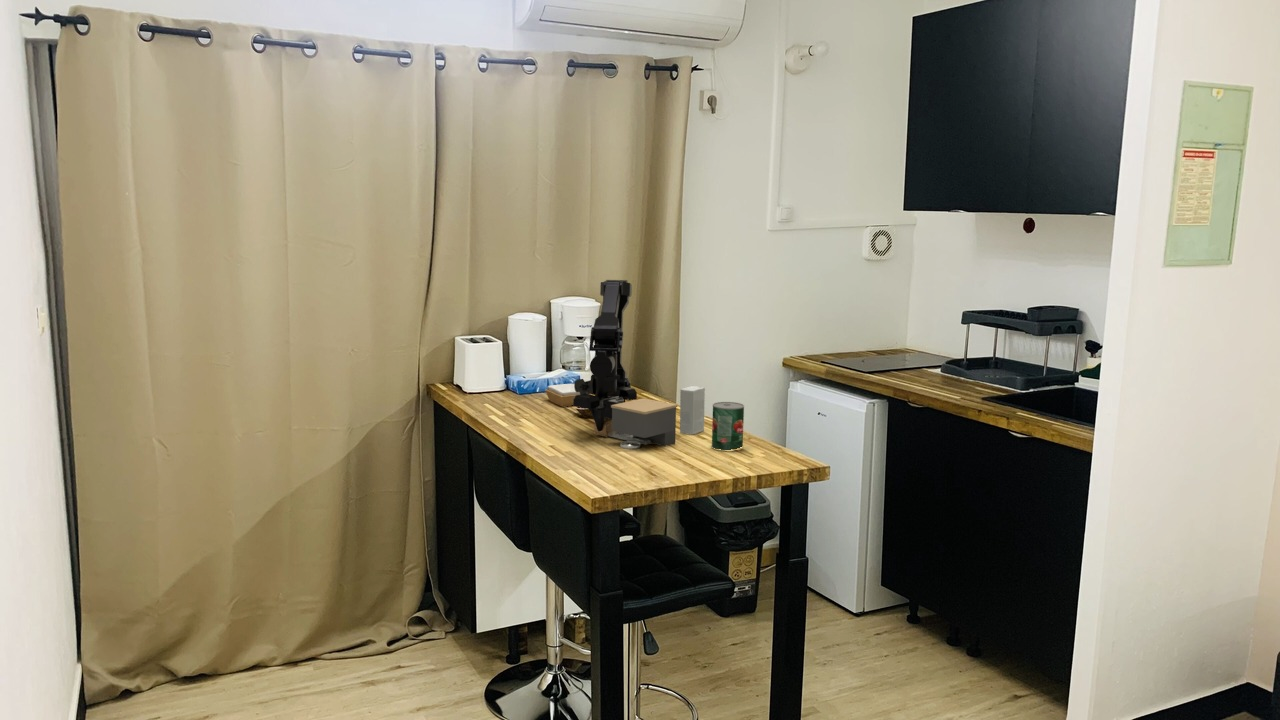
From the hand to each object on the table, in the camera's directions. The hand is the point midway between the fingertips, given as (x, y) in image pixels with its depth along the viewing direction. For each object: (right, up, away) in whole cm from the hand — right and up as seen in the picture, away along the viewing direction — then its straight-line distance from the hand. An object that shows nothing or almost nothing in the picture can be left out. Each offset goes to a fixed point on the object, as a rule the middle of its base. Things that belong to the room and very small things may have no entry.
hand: (605, 429), depth 258 cm
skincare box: (+23, -1, +6) cm, 24 cm away
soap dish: (-13, +5, +41) cm, 43 cm away
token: (+7, -4, -11) cm, 13 cm away
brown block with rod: (+5, -2, -4) cm, 7 cm away
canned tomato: (+31, -4, -10) cm, 33 cm away
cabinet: (+10, -3, -8) cm, 13 cm away
